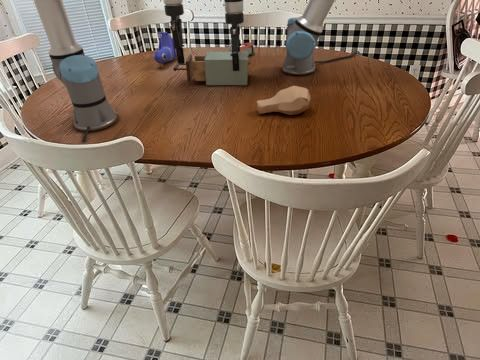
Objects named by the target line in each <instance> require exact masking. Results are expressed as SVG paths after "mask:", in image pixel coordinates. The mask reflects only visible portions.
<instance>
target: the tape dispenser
mask: <svg viewBox="0 0 480 360" xmlns="http://www.w3.org/2000/svg"><path fill="white" fill-rule="evenodd" d="M240 44H241V46H238V47H240V52H248V57H249V56H253V55H254V52H255V51H254V50H255V49H254V47H255V46H254V44H253V42H243V43H240ZM228 52H232V44H228ZM249 62H250V58H248V63H249Z"/></svg>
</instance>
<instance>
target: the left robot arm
mask: <svg viewBox="0 0 480 360" xmlns="http://www.w3.org/2000/svg"><path fill="white" fill-rule="evenodd" d="M33 3H34V5H35V8H36V11H37V13H38V16H39V19H40V22H41V24H42V27H43V30H44V32H45V35H46V37H47V41H48V43H49V46H50V48H49V50H48V55H49V59H50V61H51V66H52V71H53V73H54V75H55V77H56V78H57V79H58V80H59V81H60V82H61V83H62V84H63V85H64V86H65V88H66V90H67V93H68V96H69V99H70V101H71V104H72V108H73V114H72V117H73V118H72V119H73V125H74V128H75V129H76V131H78V132H84V134H83V138H82V139H81V141H82V142H85V141H86V139H87V136H88V135H89V134H88V133H92V132H99V131H102V130H105V129H107V128H110V127H111V126H113V125H115V124H116V122H117V121H118V116H117V112H116V110H115V109H114V107H112V105H111V103H110V102H109V101H108V99H107V96H106V92H105V89H104V87H103V86H104V85H103V83H102V79H101V75H100V71H99V66H98V64H97V62H96V60H95V59H94V58H93V57H91V56H89V55H85V52H84V49H83V46H82V45H81V44H79V43H77V41H76V38H75V35H74V32H73V29H72V26H71V23H70V19H69V17H68V14H67V11H66V8H65V5H64V2H63V0H33ZM183 3H184V1H183V0H163V4H164V15H165V16H167V17H170V21H169V24H170V26H169V28H170V32H171V37H173V42H174V49H176V52H177V57H176V58H177V59H176V60H177V62H178V64H183V63H186V60H185V54H184V48H185V44H184V35H183V21H182V20H183V19H182V18H181V17H180V16H183V15H184V14H185V10H184V5H183Z"/></svg>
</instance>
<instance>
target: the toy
mask: <svg viewBox="0 0 480 360" xmlns="http://www.w3.org/2000/svg"><path fill="white" fill-rule="evenodd" d="M157 34H158V35H161V36H159V40H158V49H157V51H156V50H154V53H153V55H152V58H153V60H154V61H155V62H156V63H158V64H160V67H161V69H163V68H164V64H166V63H169V62H172V61H173V60H175V59H176V58H177V52H176V49H174V42H173V37H172V35H170V34H169V33H168V31H164V32H163V31H158V32H157Z"/></svg>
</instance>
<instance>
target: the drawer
mask: <svg viewBox="0 0 480 360" xmlns="http://www.w3.org/2000/svg"><path fill="white" fill-rule="evenodd" d="M205 57H206V55H194V60H193V54H188V56H187V58H186V60H185V63H183V64H178V61H177V62H176V63H175V65H174V67H173V69H172V70H173V72H177V71H186V78H187V80H186V81H187V83H191V82H192V80H193V81H194V82H206V73H205ZM180 66H185V67H183V68H182V67H181V68H180Z"/></svg>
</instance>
